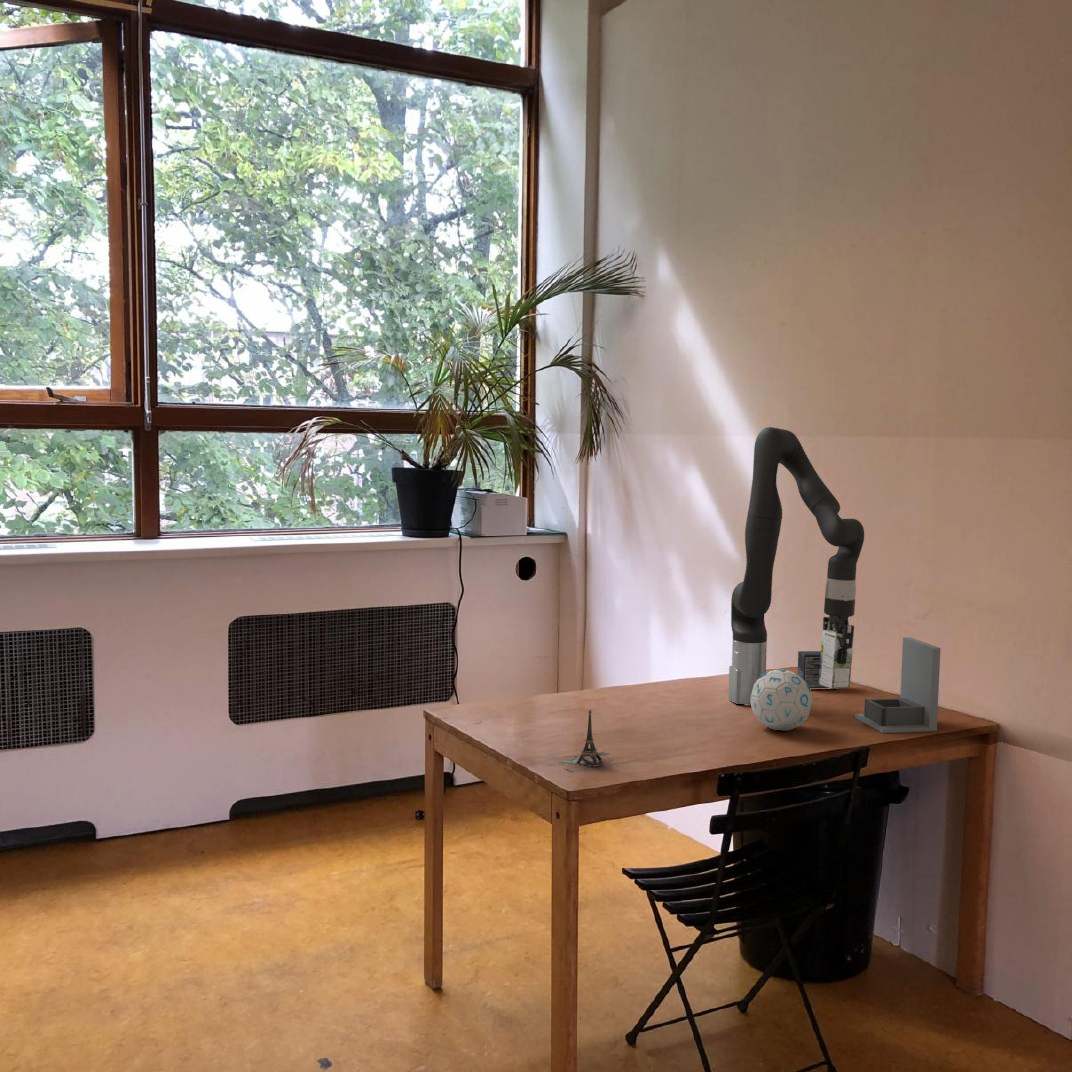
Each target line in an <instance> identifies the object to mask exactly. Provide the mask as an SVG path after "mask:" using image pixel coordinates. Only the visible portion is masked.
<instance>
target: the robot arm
mask: <svg viewBox="0 0 1072 1072" xmlns="http://www.w3.org/2000/svg"><path fill="white" fill-rule="evenodd" d="M753 447H754V449H753V464H752V465H753V467H752V470H753V471H752V483H751V489H750V497H749V503H748V504H749V505H748V510H747V516H746V521H745V531H744V544H745V556H746V558H745V559H746V563H745V565H746V566H745V572H744V578H743V581H741V582H740V583H738V584H737V585H736V586H735V587H734V588H733V589H732V593H731V600H730V601H731V603H730V605H731V606H730V608H731V609H730V610H731V611H730V615H731V617H730V621H731V622H730V624H731V631H732V646H731V648H732V650H731V651H732V652H731V653H732V655H731V665H729V667H728V668H729V669H728V698H727V699H729V700H728V701H730V702H731V701H732V702H731V703H733V702H734V703H736V704H748V705H747V706H750V705H751V703H750V699H751V694H752V693H751V691H752V688H753V686H754V684H755V683H756V681H757V680H758V679H759V677H760V676H762V675H763V674H765V673H766V672H767V653H768V652H767V648H768V631H767V627H766V624H765V623H766V622H765V614H766V613H768V610H769V609H770V608H771V603H772V593H773V592H772V591H773V588H772V587H773V571H774V564H775V560H776V556H777V550H778V546H779V545H778V544H779V538H780V534H781V533H780V532H781V527H782V523H783V522H782V521H783V508H782V507H783V506H782V502H781V499H780V498H781V497H780V495H779V490H778V487H777V478H778V477H777V476H778V475H777V474H778V468H779V464H780V465H782V466H783V467H784V468H786V470H787V471H788V472H789V473H790V474H791V475H792V477H793V478H794V480H795V483H796V486H797V489H798V493H799V496H800V498H801V500H802V501H803V503H804V505H805V506H806V507H807V508H808V509H809V510H808V511H810V512H811V514H812V515H813V516H814V517H815V519H816V522H817V525H818V527H819V530H820V532H821V535H822V536H823V538H824V540H825V541H826V542H827V543H829V545H831V546H834V547H838V549H837V551H836V554H833V555H832V556H830V557H829V559H828V561H827V573H826V574H827V575H826V584H825V590H824V604H823V605H824V606H823V613H824V614H825V615H827V616H823V619H822V631H823V630H833V631H834V632H835V633H836V634H838V633H839V634H842V637H840V636H839V635H838V636H837V640H838V653H837V663H838V664H846V659H847V649H849V648H852V643H853V644H854V640H853V634H854V633H855V625H852V624H849V622H850V621H849V618H850V617H854V615H855V612H856V610H855V607H856V593H857V584H856V582H857V581H856V580H857V579H856V577H857V576H856V575H857V564H858V561H859V558H860V555H861V552H862V548H863V545H864V541H865V529H864V526H863V524H862V522H861V521H860V520H858V519H855V518H842V517H840V515H839V512H840V510H841V505H840V503H839V501H838V500H837V498H836V497H835V496H834V494H833V493H832V492H831V490H830V489H829V488H828V487H827V485H826V484H825V483H824V481H823V480H822V477H820V476H819V474H818V472H817V471H816V469H815V467H814V466H813V464H812V462H811V461H810V459H809V457H808V455H807V453H806V452H805V449H804V448H803V446H802V443H801V442H800V439H798V437H797V436H796V433H794V432H792V431H790V430H788V429H784V428H779V427H772V426H770V427H769V426H768V427H765V428H762V430H760V432H759V433H758V434H757V435H756V439H755V442H754V446H753ZM854 635H855V634H854ZM841 640H842V641H841ZM848 640H849V643H848ZM734 703H733V704H734ZM736 704H735V705H736Z"/></svg>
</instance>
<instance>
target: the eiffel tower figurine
mask: <svg viewBox="0 0 1072 1072" xmlns="http://www.w3.org/2000/svg"><path fill="white" fill-rule="evenodd" d="M592 713H593V712H592V710H591V709H589V710H588V722H587V723H588V724H587V734H586V739H585V744H584V748H583V749H582V750H581V754H580V755H576V756H573V757H575V758H572V759H571V758H568V757H567V758H568V759H564V760H563V761H560V760H559V761H560V762H559V761H558V764H559V765H563V766H565V765H566V766H567V765H572V764H574V765H575V766H580V765H594V766H599V765H600V766H601V765H602V763H603V762H604V761H603V760H604V759H603V758H602V757H601V756H603V757H606V756H608V755H609V753H607V752H605V751H602V752H598V749H597V748H596V747H595V743H594V737H593V730H592V729H593V728H592ZM584 757H586V758H584ZM587 757H588V758H587ZM578 758H579V759H578ZM600 766H599V767H600ZM567 769H568V770H567ZM567 769H565V770H567V771H568V772H570V773H572V772H573V773H575V771H574V770H571V769H570V768H567ZM569 769H570V770H569Z"/></svg>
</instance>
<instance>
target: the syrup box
mask: <svg viewBox="0 0 1072 1072" xmlns="http://www.w3.org/2000/svg"><path fill="white" fill-rule="evenodd" d="M838 635H839V636H840V637H842V634H839V633H838V634H836V633H835V632H834V631H833V630H823V629H822V634H821V648H820V651H821V659H820V672H819V684H820V685H823V686H825V687H828V688H831V689H836V688H838V689H849V688H850V687H851V677H852V676H851V675H852V666H853V665H852V664H853V652H854V650H853V649H854V642H853V643H852V648H849V649H847V659H846V664H838V663H837V653H838V640H837V636H838ZM854 637H855V634H853V641H854ZM841 641H842V640H841ZM848 643H849V640H848Z"/></svg>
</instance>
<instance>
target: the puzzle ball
mask: <svg viewBox="0 0 1072 1072" xmlns="http://www.w3.org/2000/svg"><path fill="white" fill-rule="evenodd" d="M751 693H752V694H751V699H750V703H751V707H750V708H751V709H752V713H753V715H754V716H755V717H756V719H757V720H758V721H759V722H760V723H761V724H763V725H764V726H766V727H767V728H769V729H770V730H771V729H772V730H774V731H776V730H781V731H784V732H785V731H792V730H794V729H795V728H798V727H799V726H800V725H802V724H803V723H804V722H806V720H807V719H808V718H809V715H810V713H811V710H812V706H813V694H812V690H810V688H809V686H808V684H807V683H806V682H805V681H804V680H803V678H802V677H801V676H799V675H798V673H797V674H796V673H795V672H793V671H791V670H787V669H773V670H770V671H766V673H765V674H763V675H762V676H760V677H759V679H758V680H757V681H756V683H755V684H754V686H753V688H752V691H751Z"/></svg>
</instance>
